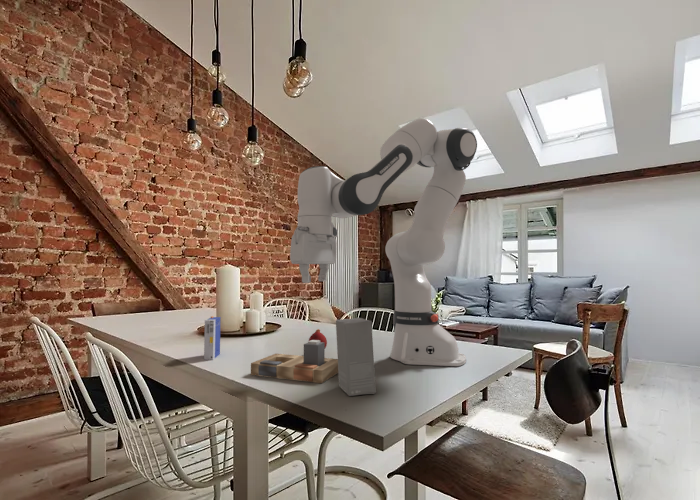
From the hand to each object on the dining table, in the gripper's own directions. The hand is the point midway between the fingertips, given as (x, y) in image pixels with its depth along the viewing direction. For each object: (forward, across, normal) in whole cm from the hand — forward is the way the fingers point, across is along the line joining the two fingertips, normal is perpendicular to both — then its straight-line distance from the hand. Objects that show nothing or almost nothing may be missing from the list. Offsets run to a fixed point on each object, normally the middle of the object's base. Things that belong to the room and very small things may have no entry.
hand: (314, 282), depth 101 cm
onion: (+24, +21, +9) cm, 33 cm away
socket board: (+24, 0, +5) cm, 24 cm away
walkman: (+24, +7, +38) cm, 45 cm away
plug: (+24, 0, 0) cm, 24 cm away
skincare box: (+24, -8, -14) cm, 29 cm away
